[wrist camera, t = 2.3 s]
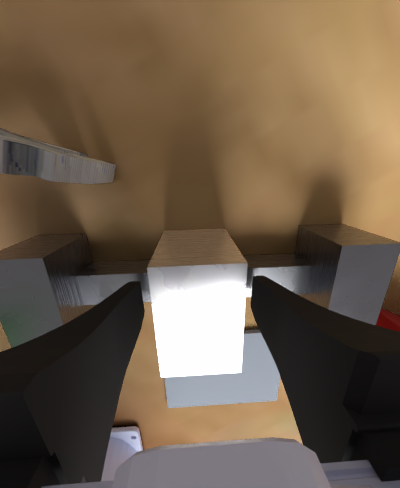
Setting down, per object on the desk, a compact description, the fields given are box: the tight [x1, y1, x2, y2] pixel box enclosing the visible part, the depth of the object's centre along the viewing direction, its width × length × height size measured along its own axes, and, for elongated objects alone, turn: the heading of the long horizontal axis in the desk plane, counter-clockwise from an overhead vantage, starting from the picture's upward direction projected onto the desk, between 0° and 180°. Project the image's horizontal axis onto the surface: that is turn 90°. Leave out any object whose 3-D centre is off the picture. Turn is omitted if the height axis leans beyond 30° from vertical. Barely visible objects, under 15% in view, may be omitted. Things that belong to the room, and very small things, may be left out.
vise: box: [0, 224, 400, 348], centre depth 12 cm, size 6×20×4 cm, turn 91°
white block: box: [147, 228, 248, 378], centre depth 11 cm, size 6×4×6 cm, turn 1°
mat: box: [164, 329, 280, 408], centre depth 17 cm, size 8×10×1 cm
